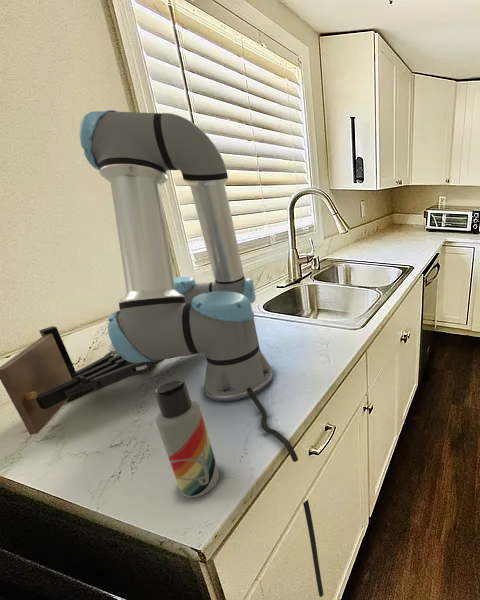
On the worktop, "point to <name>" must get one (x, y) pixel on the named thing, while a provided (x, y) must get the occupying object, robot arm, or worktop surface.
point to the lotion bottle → (185, 439)
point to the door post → (63, 355)
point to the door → (35, 380)
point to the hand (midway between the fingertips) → (39, 403)
